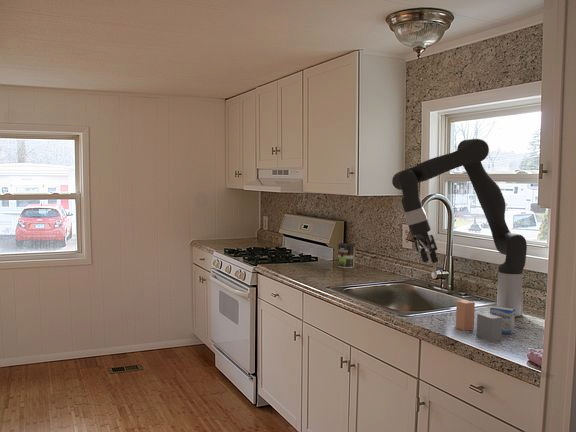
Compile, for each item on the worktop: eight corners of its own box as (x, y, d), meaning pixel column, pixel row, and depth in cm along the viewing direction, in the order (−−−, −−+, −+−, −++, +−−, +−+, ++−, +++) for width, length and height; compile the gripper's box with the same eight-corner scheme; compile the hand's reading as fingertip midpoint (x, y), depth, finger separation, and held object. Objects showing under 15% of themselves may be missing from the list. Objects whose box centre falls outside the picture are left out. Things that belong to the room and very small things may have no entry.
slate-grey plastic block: (486, 335, 195) (487, 312, 195) (501, 340, 189) (502, 317, 188) (476, 336, 193) (477, 313, 193) (491, 341, 187) (492, 318, 186)
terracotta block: (465, 326, 206) (466, 299, 206) (473, 329, 202) (474, 302, 202) (455, 327, 204) (456, 300, 204) (464, 330, 200) (465, 303, 200)
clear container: (349, 269, 332) (349, 245, 331) (334, 267, 338) (334, 244, 337) (357, 266, 340) (358, 244, 339) (343, 265, 346) (343, 242, 345)
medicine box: (488, 330, 200) (489, 307, 200) (491, 328, 204) (492, 305, 204) (511, 334, 196) (512, 310, 196) (514, 331, 200) (515, 308, 199)
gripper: (434, 217, 202) (447, 259, 202) (419, 219, 216) (431, 258, 216) (415, 223, 201) (429, 265, 201) (401, 225, 215) (414, 264, 215)
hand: (430, 262), depth 209 cm, fingers open, 8 cm apart
